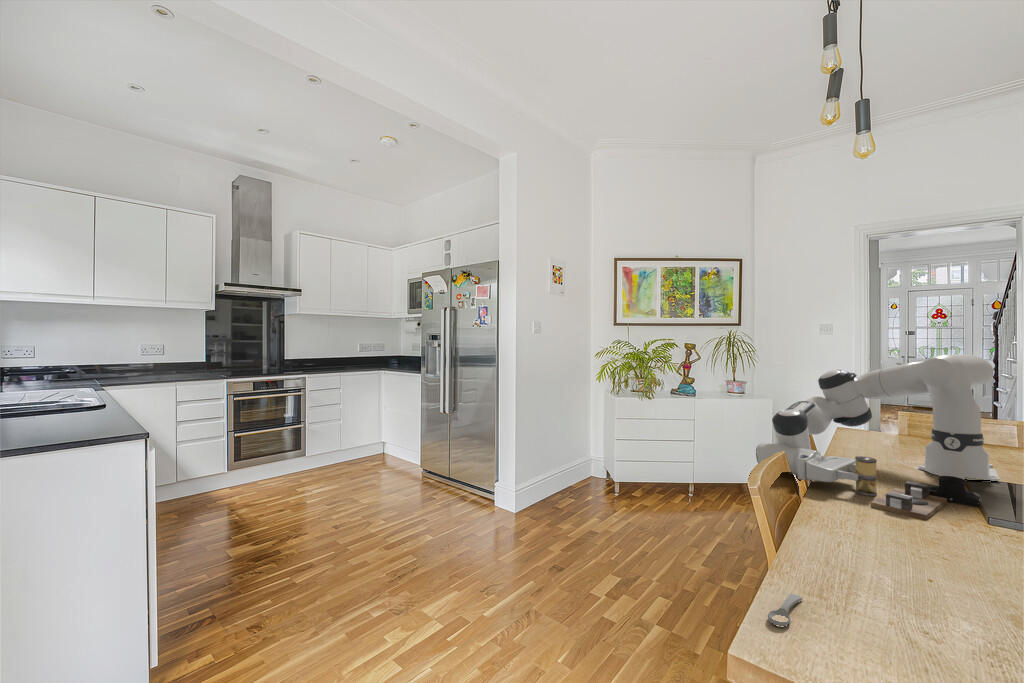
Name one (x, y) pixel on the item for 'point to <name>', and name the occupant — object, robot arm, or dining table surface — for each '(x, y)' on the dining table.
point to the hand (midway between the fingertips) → (864, 474)
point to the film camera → (954, 491)
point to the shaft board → (916, 508)
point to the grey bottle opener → (784, 610)
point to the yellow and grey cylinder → (866, 476)
